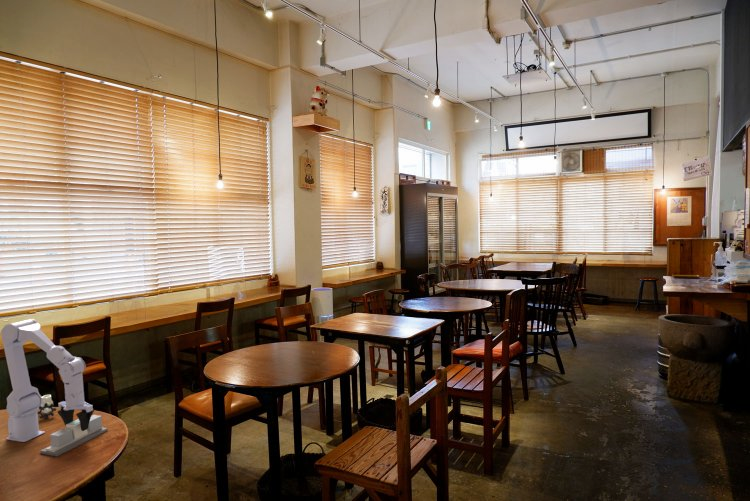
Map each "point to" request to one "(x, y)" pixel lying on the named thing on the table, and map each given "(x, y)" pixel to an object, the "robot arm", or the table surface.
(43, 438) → the table surface
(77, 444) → the board
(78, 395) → the robot arm
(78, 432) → the cream module
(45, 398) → the valve
